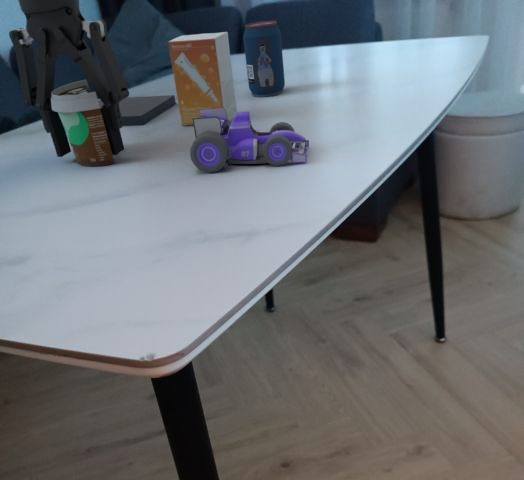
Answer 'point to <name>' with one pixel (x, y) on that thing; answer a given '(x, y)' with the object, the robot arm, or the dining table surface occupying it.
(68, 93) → the food container
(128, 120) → the scale
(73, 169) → the dining table surface
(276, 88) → the soda can
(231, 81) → the small box
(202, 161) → the toy race car
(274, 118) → the dining table surface
